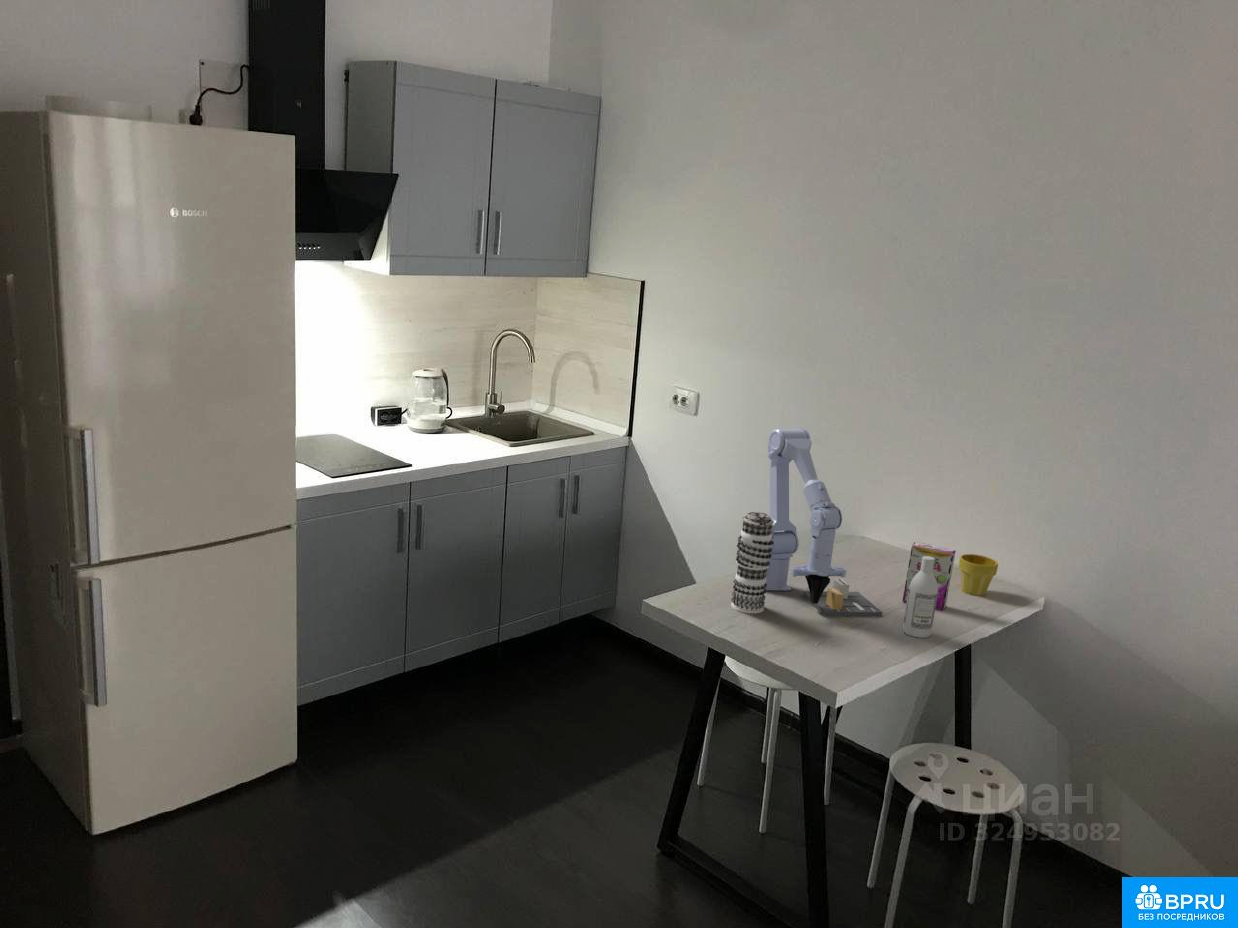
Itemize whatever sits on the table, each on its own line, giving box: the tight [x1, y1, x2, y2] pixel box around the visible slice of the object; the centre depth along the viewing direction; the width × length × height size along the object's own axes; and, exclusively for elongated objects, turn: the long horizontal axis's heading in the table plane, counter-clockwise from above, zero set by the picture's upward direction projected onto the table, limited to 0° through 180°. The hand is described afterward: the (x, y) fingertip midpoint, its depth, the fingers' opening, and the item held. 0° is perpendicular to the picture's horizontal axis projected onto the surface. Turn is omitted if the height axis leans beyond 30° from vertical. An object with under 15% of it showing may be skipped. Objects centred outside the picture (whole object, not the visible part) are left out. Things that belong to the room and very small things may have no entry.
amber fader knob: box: [826, 587, 844, 609], centre depth 270 cm, size 2×4×4 cm, turn 12°
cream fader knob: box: [832, 578, 850, 599], centre depth 278 cm, size 2×4×4 cm, turn 12°
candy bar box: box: [902, 541, 956, 612], centre depth 280 cm, size 11×5×16 cm, turn 65°
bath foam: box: [902, 556, 938, 639], centre depth 258 cm, size 7×7×20 cm
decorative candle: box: [730, 511, 774, 614], centre depth 265 cm, size 9×9×25 cm
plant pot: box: [958, 553, 999, 597], centre depth 295 cm, size 10×10×10 cm
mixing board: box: [802, 590, 883, 618], centre depth 275 cm, size 16×15×1 cm
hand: (814, 602), depth 269 cm, fingers closed
